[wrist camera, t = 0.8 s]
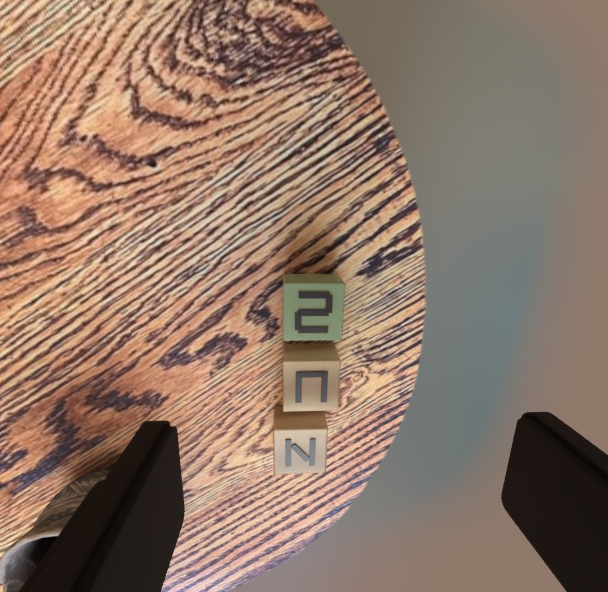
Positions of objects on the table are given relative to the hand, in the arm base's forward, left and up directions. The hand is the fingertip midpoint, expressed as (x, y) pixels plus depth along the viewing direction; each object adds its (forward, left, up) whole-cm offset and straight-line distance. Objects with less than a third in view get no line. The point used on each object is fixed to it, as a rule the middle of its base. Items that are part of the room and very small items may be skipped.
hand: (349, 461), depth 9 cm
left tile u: (+5, 0, -16) cm, 17 cm away
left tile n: (+11, -1, -16) cm, 19 cm away
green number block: (0, 0, -16) cm, 16 cm away
